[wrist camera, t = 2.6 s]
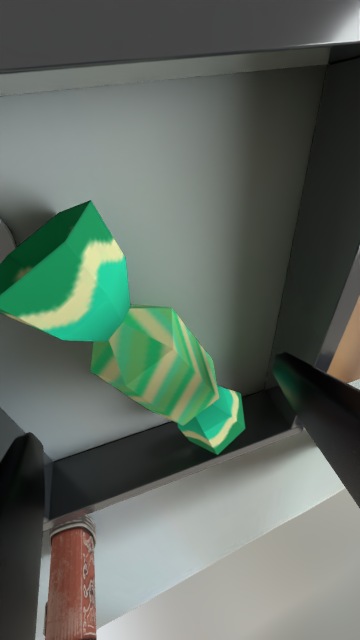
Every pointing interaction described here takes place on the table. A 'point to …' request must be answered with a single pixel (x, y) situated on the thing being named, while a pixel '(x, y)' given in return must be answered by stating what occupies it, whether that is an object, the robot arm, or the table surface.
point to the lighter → (71, 582)
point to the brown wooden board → (348, 351)
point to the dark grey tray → (314, 214)
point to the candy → (117, 325)
